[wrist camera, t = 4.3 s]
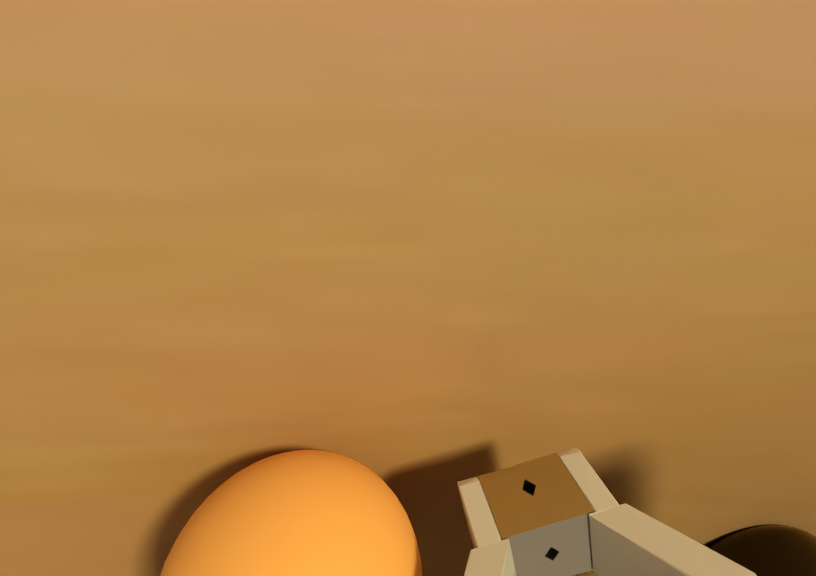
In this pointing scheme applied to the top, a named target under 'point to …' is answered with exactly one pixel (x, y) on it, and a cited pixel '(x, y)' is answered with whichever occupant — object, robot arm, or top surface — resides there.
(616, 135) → the top surface
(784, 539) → the supplement bottle
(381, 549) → the ball
